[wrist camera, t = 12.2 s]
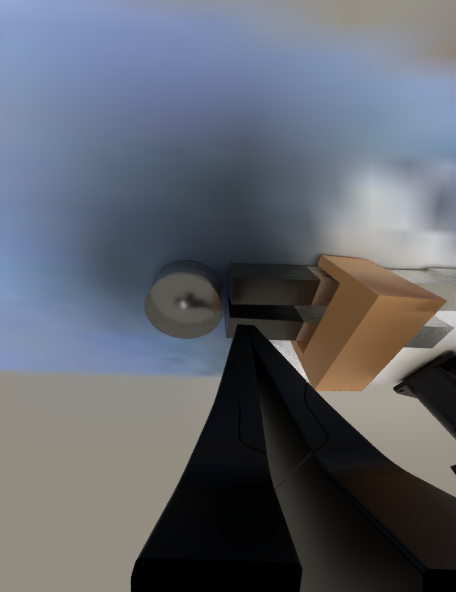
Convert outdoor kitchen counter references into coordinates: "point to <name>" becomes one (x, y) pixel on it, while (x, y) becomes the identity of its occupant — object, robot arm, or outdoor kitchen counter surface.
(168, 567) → the robot arm
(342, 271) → the orange u-shaped block
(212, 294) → the arm
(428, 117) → the outdoor kitchen counter surface
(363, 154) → the outdoor kitchen counter surface
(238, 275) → the tongs free arm
